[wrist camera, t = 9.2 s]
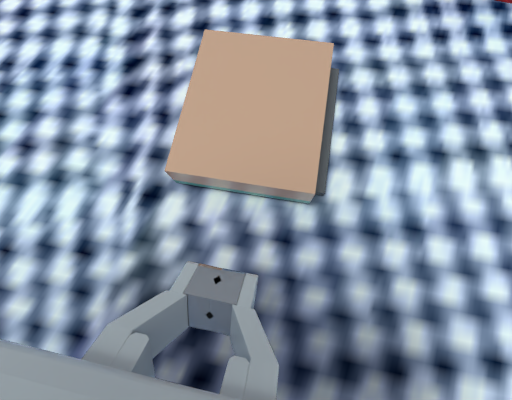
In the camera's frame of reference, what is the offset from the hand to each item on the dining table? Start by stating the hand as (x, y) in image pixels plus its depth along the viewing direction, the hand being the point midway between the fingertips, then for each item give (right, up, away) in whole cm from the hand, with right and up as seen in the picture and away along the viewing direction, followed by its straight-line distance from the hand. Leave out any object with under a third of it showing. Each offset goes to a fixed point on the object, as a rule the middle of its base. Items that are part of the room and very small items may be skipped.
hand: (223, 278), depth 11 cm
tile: (0, +4, +7) cm, 8 cm away
